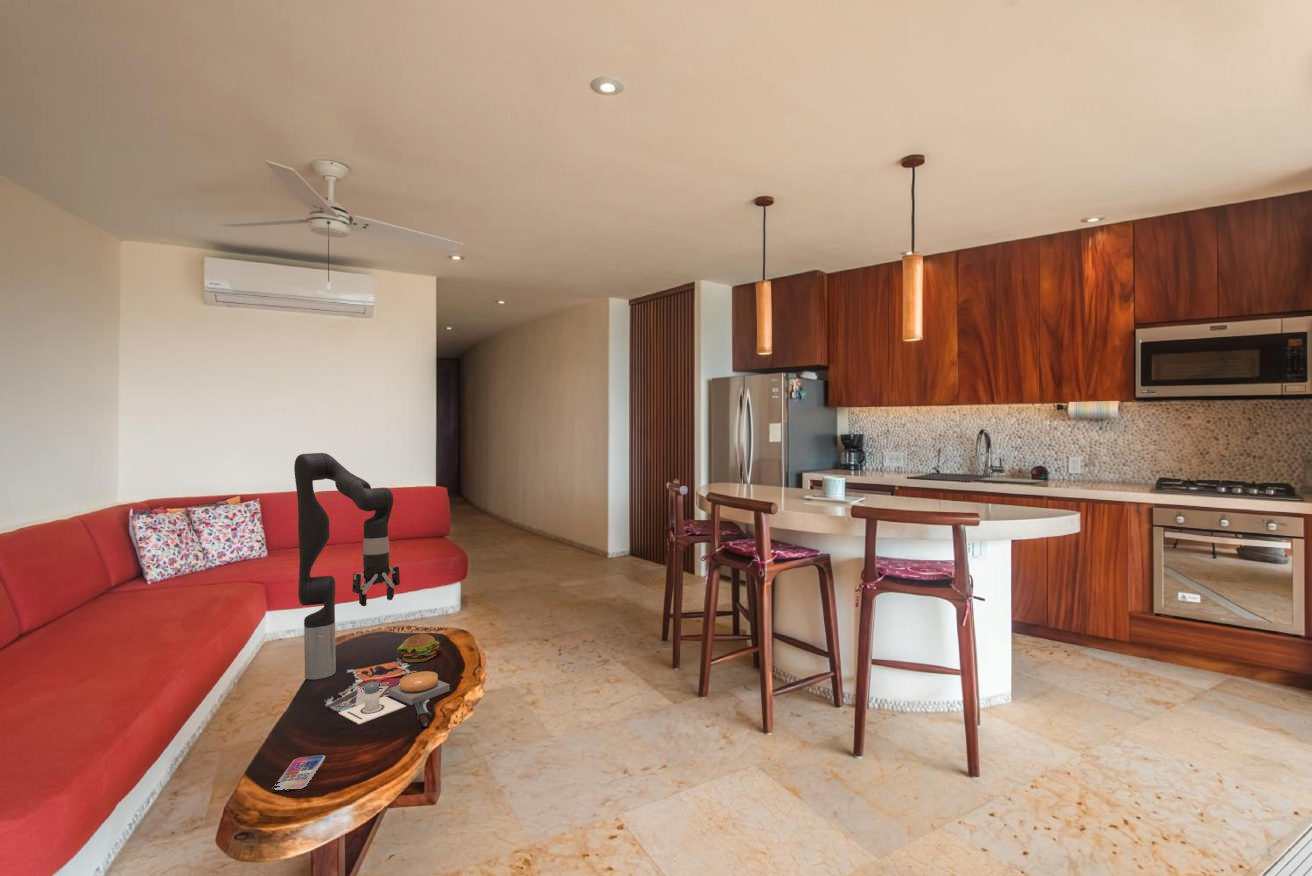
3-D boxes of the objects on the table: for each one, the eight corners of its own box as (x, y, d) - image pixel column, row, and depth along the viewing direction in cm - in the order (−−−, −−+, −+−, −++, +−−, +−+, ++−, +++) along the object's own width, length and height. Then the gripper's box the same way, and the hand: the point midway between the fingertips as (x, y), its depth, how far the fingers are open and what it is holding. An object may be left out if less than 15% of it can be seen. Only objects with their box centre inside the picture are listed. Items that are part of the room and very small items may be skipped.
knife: (427, 696, 192) (410, 700, 190) (427, 690, 192) (410, 693, 190) (439, 726, 169) (419, 730, 166) (438, 718, 169) (419, 722, 166)
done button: (393, 686, 191) (392, 679, 191) (425, 675, 199) (425, 668, 199) (412, 694, 184) (412, 687, 184) (444, 682, 193) (444, 676, 193)
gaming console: (363, 681, 201) (394, 680, 202) (363, 683, 201) (394, 682, 202) (332, 711, 179) (367, 709, 180) (332, 713, 179) (367, 712, 180)
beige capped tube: (361, 709, 179) (361, 685, 179) (375, 704, 183) (374, 680, 183) (368, 712, 177) (368, 688, 177) (382, 707, 180) (381, 683, 180)
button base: (388, 695, 190) (388, 688, 190) (426, 681, 201) (426, 675, 201) (411, 705, 182) (411, 698, 182) (449, 690, 193) (449, 684, 193)
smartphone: (269, 791, 137) (294, 757, 152) (269, 796, 137) (294, 761, 152) (305, 786, 139) (326, 753, 153) (305, 791, 139) (327, 757, 153)
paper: (338, 713, 178) (338, 712, 178) (384, 697, 189) (384, 695, 189) (359, 724, 170) (359, 723, 170) (405, 706, 182) (405, 705, 182)
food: (416, 649, 233) (415, 628, 233) (446, 653, 228) (446, 631, 228) (388, 662, 220) (388, 639, 220) (420, 666, 215) (420, 643, 215)
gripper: (360, 556, 186) (360, 609, 186) (403, 549, 197) (404, 599, 197) (347, 553, 190) (348, 606, 190) (391, 546, 202) (391, 596, 202)
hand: (377, 602), depth 194 cm, fingers open, 8 cm apart
